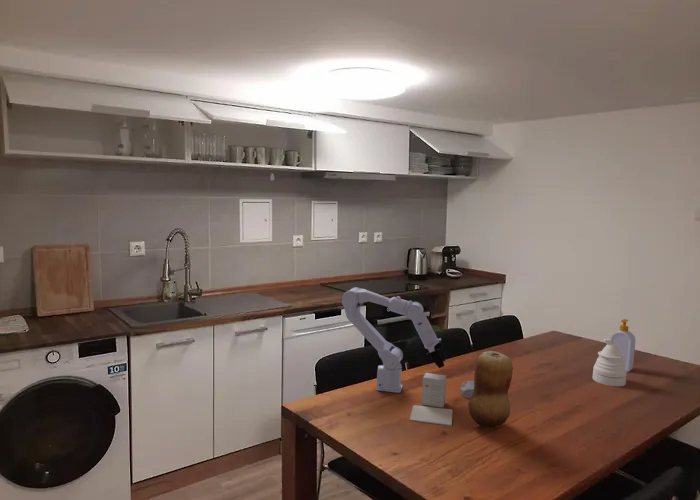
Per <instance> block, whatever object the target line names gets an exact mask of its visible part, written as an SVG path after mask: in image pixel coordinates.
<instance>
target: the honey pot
mask: <svg viewBox="0 0 700 500" xmlns="http://www.w3.org/2000/svg"><path fill="white" fill-rule="evenodd" d="M603 340H604V343H605V344H606V345H605V346H604V347H603V348H602V350H600V351H598V352H597V355H598V357H597V358H596V361H595V364H594V365H593V366H592V367H593V369H592V370H593V371H592V380H593V381H595V382H596V383H598V384H600V385H601V384H602V385H605V386H606V385H607V386H611V387H624V386H625V385H626V382H627V373H628V372H627V371H626V369H625V363H624V361H623V358H624V356H623V355H622V354H621V352H620V350H619V348H618V347H617V345H616V344H614V343H610V342H611V339H610V338H603Z"/></svg>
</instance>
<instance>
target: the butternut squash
mask: <svg viewBox="0 0 700 500" xmlns="http://www.w3.org/2000/svg"><path fill="white" fill-rule="evenodd" d="M476 359H477V360H476V363H475V368H474V374H473V375H474V376H473V381H474V391H473V393H472V395H471V397H470V399H468V400H469V401H468V403H467V406H468V413H469V416H470V417H471V419H472V420H473V421H474V423H475V424H476V425H478V426H480V427H484V428H496V427H499V426H502V425H503V424H505V423H506V422H507V420H508V418H509V416H510V414H511V403H510V399H509V390H510V386H511V382H512V378H513V369H514V367H513V366H514V365H513V361H512V358H510V357H509V356H507V355H505V354H504V353H501V352H498V351H494V350H489V351H483V352H481V354H479V356H478V358H476Z"/></svg>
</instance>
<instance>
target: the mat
mask: <svg viewBox="0 0 700 500" xmlns="http://www.w3.org/2000/svg"><path fill="white" fill-rule="evenodd" d="M409 421H410V422H418V423H419V422H420V423H425V424H426V423H427V424H435V425H442V426H450V427H452V424H453V409H449V408H440V407H434V406H427V405H418V404H417V405H416V404H414V405H412V409H411V413H410V417H409Z"/></svg>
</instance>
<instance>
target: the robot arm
mask: <svg viewBox="0 0 700 500" xmlns="http://www.w3.org/2000/svg"><path fill="white" fill-rule="evenodd" d="M367 302H370V303H374V304H377V305H381V306H384V307H387V308H388V310H389V311H390V312H393V313H396V314H399V315H402V316H406V317H407V318H408V319H409V320H410V321H412V323H413V326H414V328H415V330H416V332H417V334H418V336H419V338H420V339H421V342H422V344H423V345H424V349H427V350H428V351H427V352H426V356H427V357H428V358H430V359H431V360H432V361H433V362H434V364H435V365H436V367H438V369H441V368H443V367H445V361H446V358H445V354H444V351H443V345H442V344H443V342H442V338H441V337H440V338H438V337H437V334H436V333H435V331H434V329H433V327H432V324H431V323H430V321H429V319H428V318H427V316H426V313H425V312H424V310H425V309H424V307H423V305H422V304H421V302H418V301H412V300H406V299H402V298H401V296H399V295H397V296H393V297H391V298H389V297H388V296H387V297H386V296H384V295H381V294H379V293H376V292H373V291H372V290H371V291H370V290H368V289H365V288H360V287H358V286H357V287H351V289H349V290H347V291H345V292H344V293H343V294H342V299H341V305H342V306H343V309H344V312H345V317H346V319H348V321H349V322H350V323H351V324H352V325H353V326H354V327H355V328H356V329H357V330H358V331H359V332H360V334H361V335H362V336H363V337H364V338H365V340H367V341H368V342H369V343H370V344H371V345H372V347H373V348H374V349H375V350H376V351H377V355H378V356H379V358H380V360H381V361H382V364H380V365H378V366H377V372H376V389H375V390H376V391H381V392H389V393H397V394H400V393H401V392H402V389H403V386H404V385H403V384H402V370H403V369H402V368H403V367H402V364H401V361H402V360H403V357H404V354H403V351H402V349H400V348H399V347H398V346H395V345H394V344H393V343H391V342H389V341H387V339H385V338H384V336H383V335H382V334H381V333H380V332H379V331H378V330H377V329H376V328H375V327H374V325H372V324H371V323H370V322H369V321H368V320H367V318H366V317H365V316H364V315H363V314H362V312H361V305H362V304H363V303H367Z"/></svg>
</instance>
